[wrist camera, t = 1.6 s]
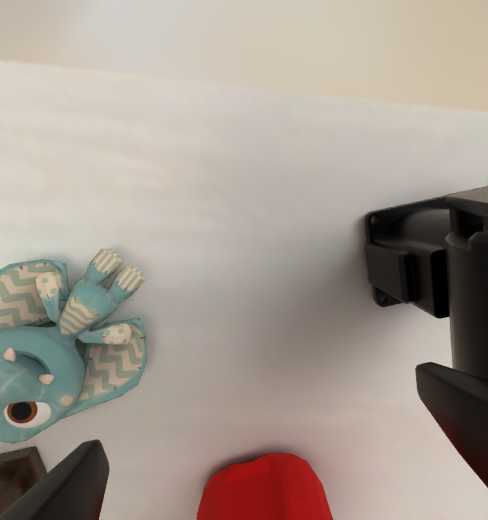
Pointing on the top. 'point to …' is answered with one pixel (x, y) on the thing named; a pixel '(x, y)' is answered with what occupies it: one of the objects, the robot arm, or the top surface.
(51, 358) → the stuffed animal
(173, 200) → the top surface
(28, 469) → the peg
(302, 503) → the water bottle
